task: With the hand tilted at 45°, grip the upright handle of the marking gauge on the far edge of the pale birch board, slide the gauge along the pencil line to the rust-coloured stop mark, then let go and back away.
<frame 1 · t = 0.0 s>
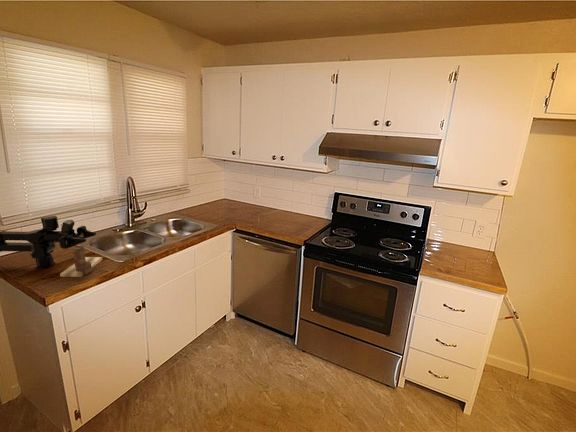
hand: (91, 237, 161), 16 cm above the countertop, tool horizontal, fingers open, 9 cm apart
marking gauge: (81, 260, 156), point 7 cm above the countertop, slide at 0.0 cm
birch board: (82, 267, 163), on the countertop
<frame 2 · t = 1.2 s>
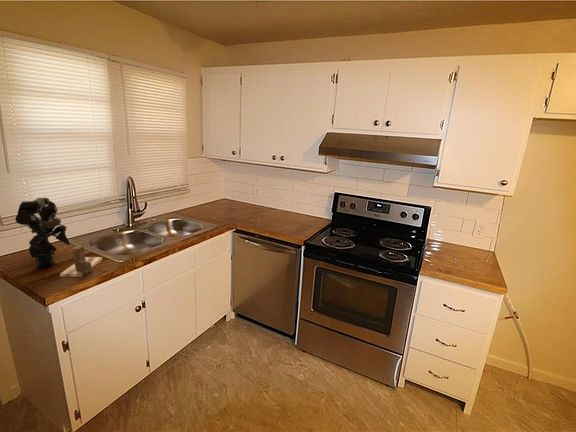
hand: (62, 247, 154), 13 cm above the countertop, tool tilted 45°, fingers open, 9 cm apart
nothing on the countertop moved.
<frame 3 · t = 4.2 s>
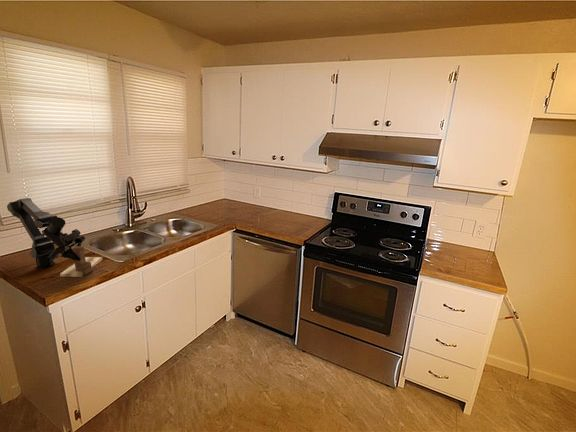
hand: (82, 258, 155), 8 cm above the countertop, tool tilted 45°, fingers closed on marking gauge, 4 cm apart
marking gauge: (81, 260, 156), point 7 cm above the countertop, slide at 0.0 cm, touching gripper
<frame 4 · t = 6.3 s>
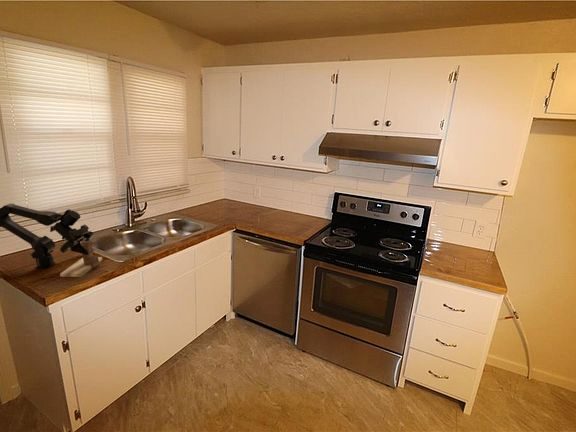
hand: (90, 252, 162), 8 cm above the countertop, tool tilted 45°, fingers closed on marking gauge, 4 cm apart
marking gauge: (89, 254, 162), point 7 cm above the countertop, slide at 7.2 cm, touching gripper
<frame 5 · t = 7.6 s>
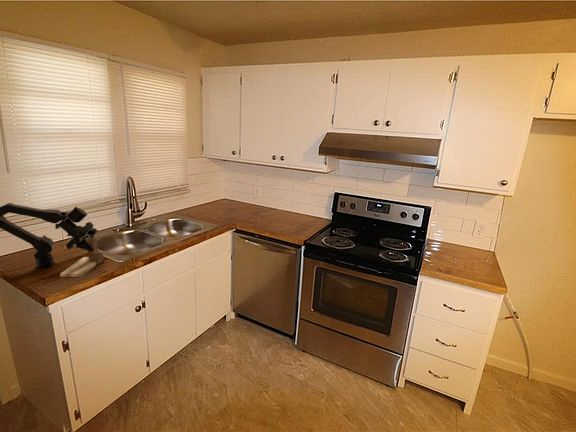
hand: (95, 249, 167), 8 cm above the countertop, tool tilted 45°, fingers closed on marking gauge, 4 cm apart
marking gauge: (94, 250, 167), point 7 cm above the countertop, slide at 11.9 cm, touching gripper
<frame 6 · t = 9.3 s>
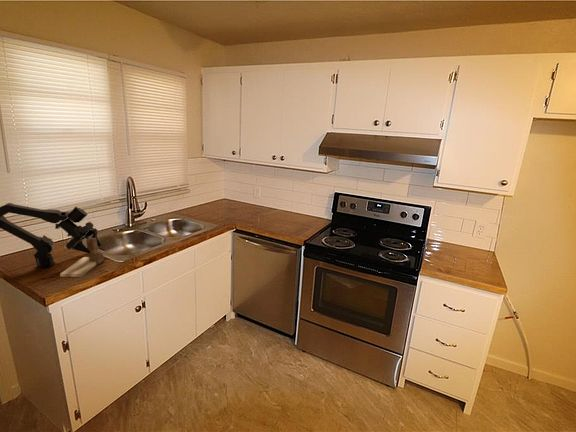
hand: (95, 249, 167), 8 cm above the countertop, tool tilted 45°, fingers open, 9 cm apart
marking gauge: (94, 250, 167), point 7 cm above the countertop, slide at 11.9 cm
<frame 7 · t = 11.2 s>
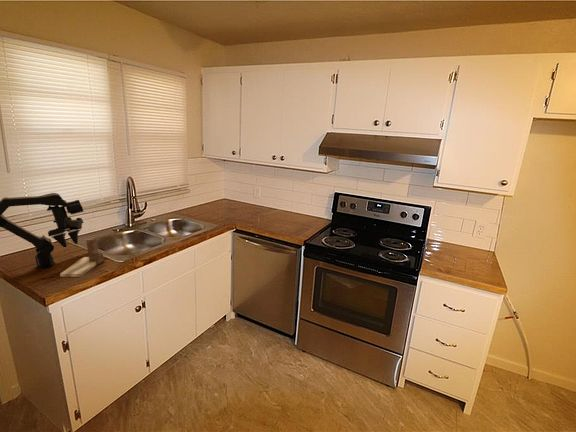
hand: (71, 245, 164), 10 cm above the countertop, tool tilted 20°, fingers open, 9 cm apart
nothing on the countertop moved.
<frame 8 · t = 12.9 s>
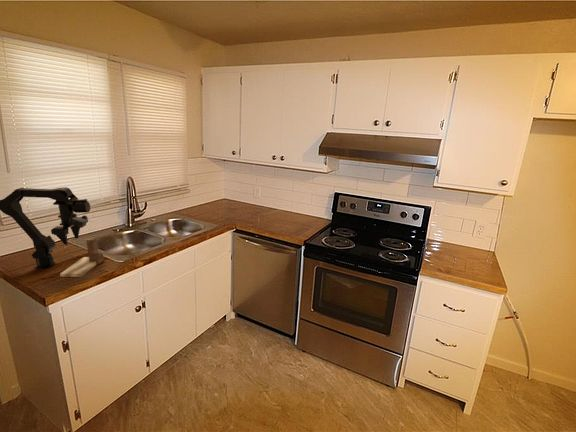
hand: (71, 241, 163), 13 cm above the countertop, tool pointing down, fingers open, 9 cm apart
nothing on the countertop moved.
at the end: marking gauge slide at 11.9 cm; the gripper is holding nothing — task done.
